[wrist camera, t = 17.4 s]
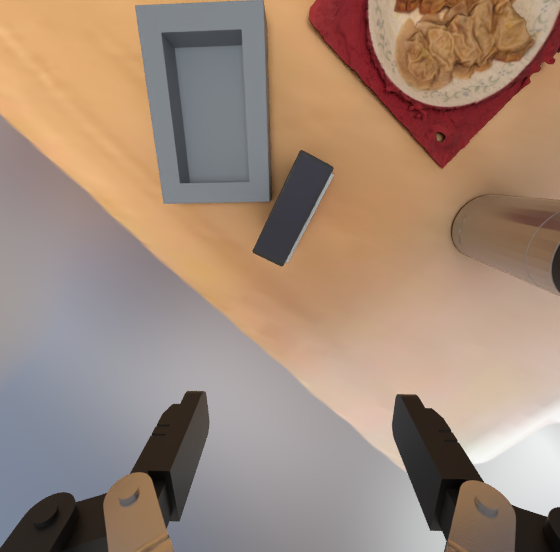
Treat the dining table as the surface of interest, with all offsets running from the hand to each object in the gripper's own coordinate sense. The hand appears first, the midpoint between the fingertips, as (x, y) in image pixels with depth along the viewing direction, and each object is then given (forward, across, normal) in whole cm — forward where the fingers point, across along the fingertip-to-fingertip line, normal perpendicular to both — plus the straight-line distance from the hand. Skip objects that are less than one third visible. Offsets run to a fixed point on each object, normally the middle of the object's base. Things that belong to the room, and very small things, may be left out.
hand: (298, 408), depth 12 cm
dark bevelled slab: (+34, 0, -6) cm, 35 cm away
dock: (+34, +10, -17) cm, 39 cm away
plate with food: (+40, -12, -30) cm, 52 cm away
